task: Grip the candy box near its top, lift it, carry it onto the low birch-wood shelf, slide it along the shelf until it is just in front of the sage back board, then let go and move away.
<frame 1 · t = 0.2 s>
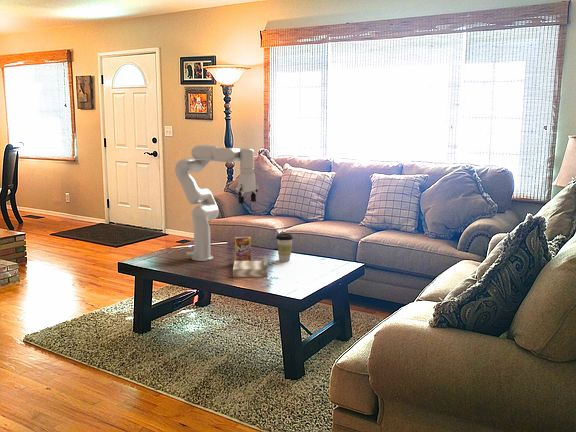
hand: (247, 202, 313), 36 cm above the table, tool pointing down, fingers open, 9 cm apart
candy box: (242, 263, 326), on the table
coffee cup: (284, 260, 334), on the table
low shelf: (250, 272, 308), on the table
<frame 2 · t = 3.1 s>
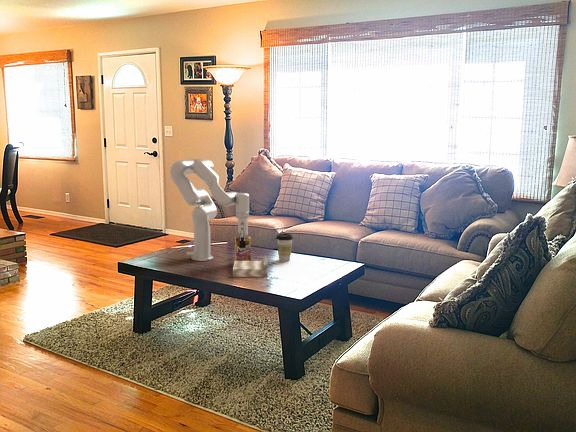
hand: (242, 246, 324), 10 cm above the table, tool pointing down, fingers closed on candy box, 4 cm apart
candy box: (242, 263, 326), on the table, touching gripper
everything else where it was.
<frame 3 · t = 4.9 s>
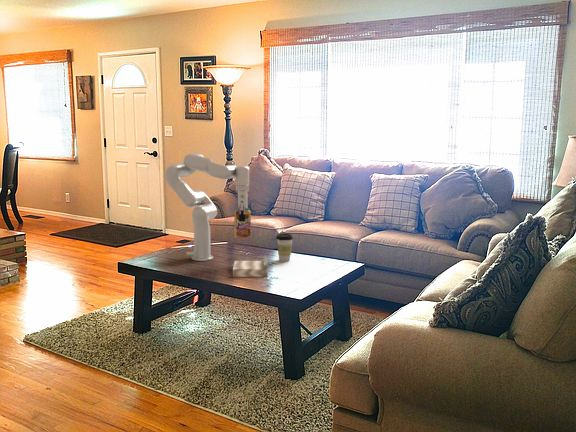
hand: (242, 219, 322), 25 cm above the table, tool pointing down, fingers closed on candy box, 4 cm apart
candy box: (242, 237, 324), point 15 cm above the table, touching gripper
everything else where it was.
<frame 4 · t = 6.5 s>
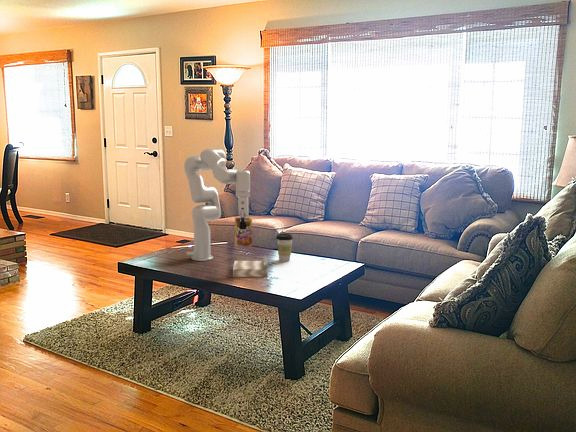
hand: (243, 227, 303), 24 cm above the table, tool pointing down, fingers closed on candy box, 4 cm apart
candy box: (243, 246, 305), point 14 cm above the table, touching gripper
everything else where it was.
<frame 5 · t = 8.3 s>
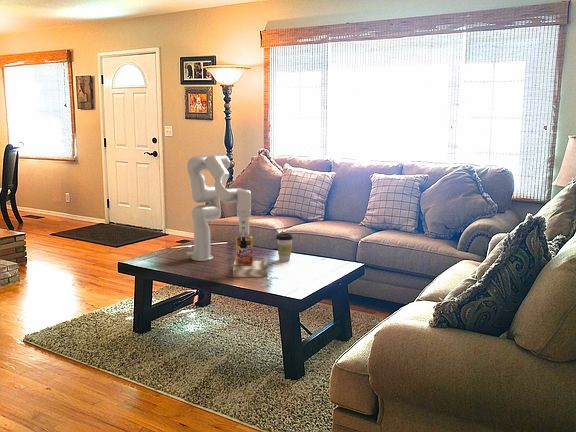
hand: (243, 246, 305), 14 cm above the table, tool pointing down, fingers closed on candy box, 4 cm apart
candy box: (244, 264, 307), point 4 cm above the table, touching gripper
everything else where it was.
when the fingers open (14 cm above the table, at t = 9.7 s): candy box stays where it is, resting on low shelf.
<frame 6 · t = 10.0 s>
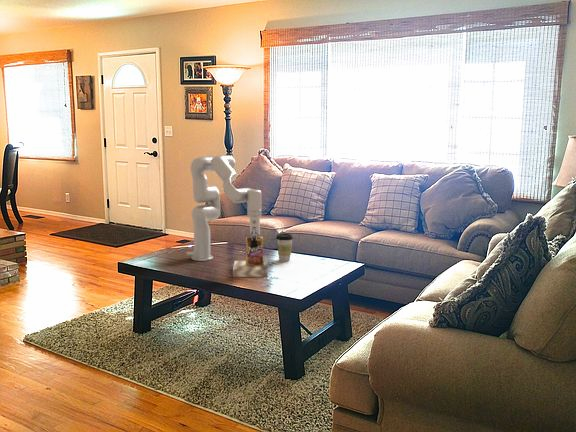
hand: (254, 245, 305), 14 cm above the table, tool pointing down, fingers open, 6 cm apart
candy box: (254, 265, 307), point 4 cm above the table, touching low shelf
everything else where it was.
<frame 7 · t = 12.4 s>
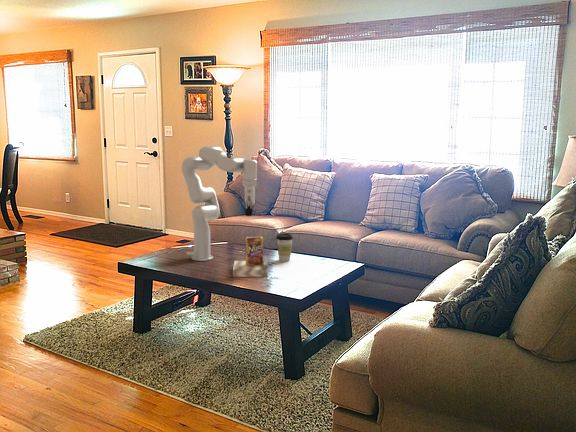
hand: (249, 214, 308), 31 cm above the table, tool pointing down, fingers open, 9 cm apart
nothing on the table moved.
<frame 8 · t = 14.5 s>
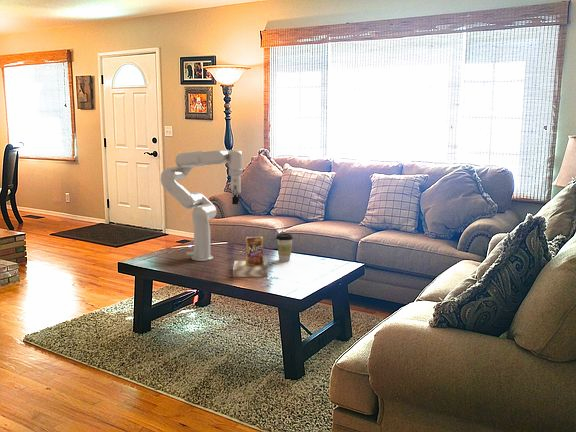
hand: (235, 202, 323), 34 cm above the table, tool pointing down, fingers open, 9 cm apart
nothing on the table moved.
at the end: candy box 0.4 cm from the target spot, point 3.8 cm above the table; candy box tilted 0°; the gripper is holding nothing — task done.
